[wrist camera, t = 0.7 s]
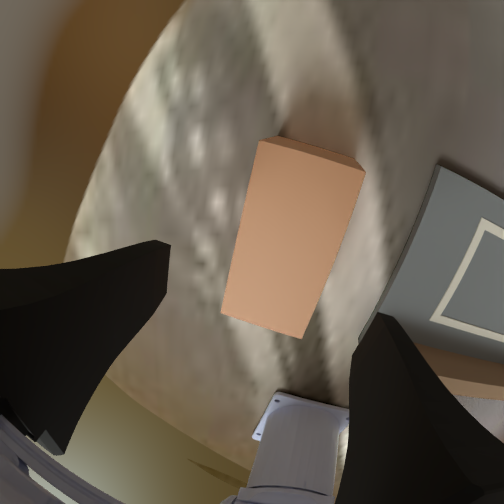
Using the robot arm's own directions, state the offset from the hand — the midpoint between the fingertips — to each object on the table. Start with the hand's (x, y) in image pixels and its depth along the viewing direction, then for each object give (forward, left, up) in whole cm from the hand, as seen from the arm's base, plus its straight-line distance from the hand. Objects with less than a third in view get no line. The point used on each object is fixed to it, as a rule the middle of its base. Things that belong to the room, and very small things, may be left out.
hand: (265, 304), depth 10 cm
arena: (-1, -17, -9) cm, 19 cm away
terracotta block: (0, 0, -9) cm, 9 cm away
